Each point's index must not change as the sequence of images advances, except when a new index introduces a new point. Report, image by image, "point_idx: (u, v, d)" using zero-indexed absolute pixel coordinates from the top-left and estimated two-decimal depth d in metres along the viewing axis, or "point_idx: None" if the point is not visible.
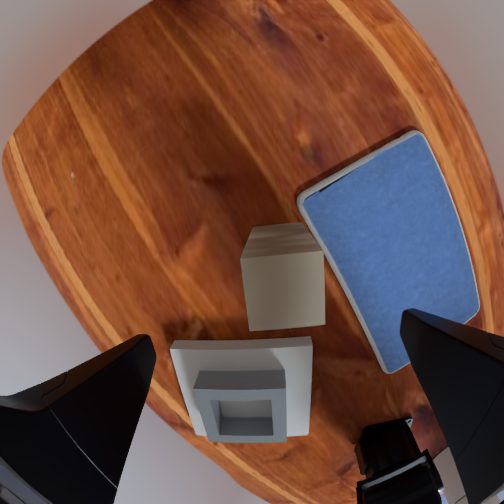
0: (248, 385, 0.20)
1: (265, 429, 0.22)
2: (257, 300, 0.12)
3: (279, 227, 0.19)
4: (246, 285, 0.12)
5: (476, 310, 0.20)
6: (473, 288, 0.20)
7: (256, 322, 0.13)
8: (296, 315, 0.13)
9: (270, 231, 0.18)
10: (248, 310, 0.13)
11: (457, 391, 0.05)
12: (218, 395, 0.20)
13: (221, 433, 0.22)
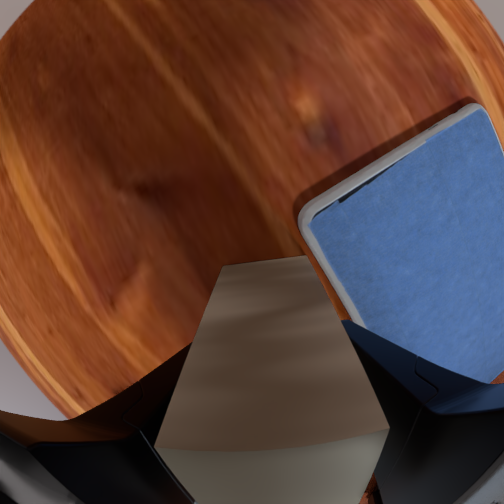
0: None
1: None
2: (216, 497, 0.04)
3: (268, 273, 0.10)
4: (185, 481, 0.04)
5: None
6: None
7: None
8: None
9: (250, 289, 0.09)
10: (200, 503, 0.04)
11: None
12: None
13: None
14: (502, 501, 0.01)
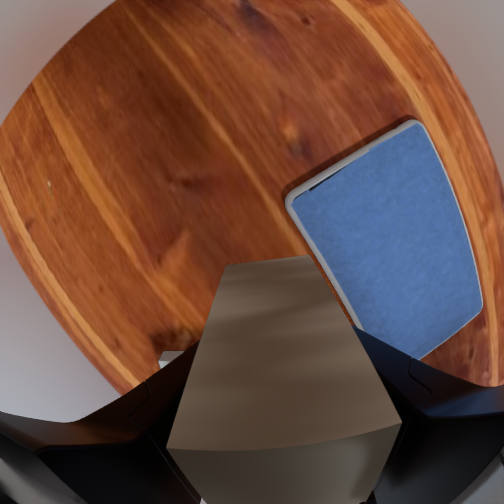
0: None
1: None
2: (226, 496, 0.04)
3: (272, 272, 0.10)
4: (196, 482, 0.04)
5: (479, 309, 0.19)
6: (477, 287, 0.19)
7: None
8: None
9: (255, 288, 0.09)
10: (209, 503, 0.04)
11: None
12: None
13: None
14: None
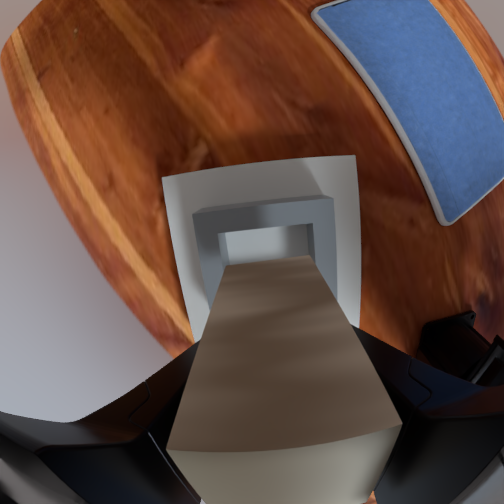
0: (276, 202, 0.14)
1: None
2: (226, 498, 0.04)
3: (272, 273, 0.10)
4: (196, 483, 0.04)
5: None
6: None
7: None
8: None
9: (255, 288, 0.09)
10: None
11: None
12: (231, 221, 0.14)
13: None
14: None
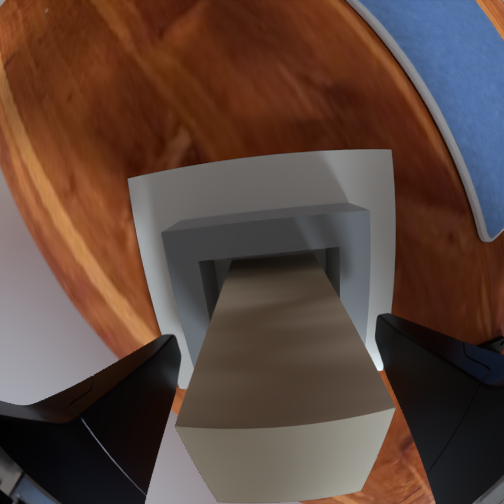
0: (285, 215, 0.10)
1: None
2: (227, 479, 0.04)
3: (277, 268, 0.11)
4: (200, 463, 0.04)
5: None
6: None
7: (229, 497, 0.05)
8: (308, 491, 0.04)
9: (260, 282, 0.10)
10: (210, 487, 0.04)
11: (427, 402, 0.05)
12: (218, 244, 0.10)
13: None
14: None
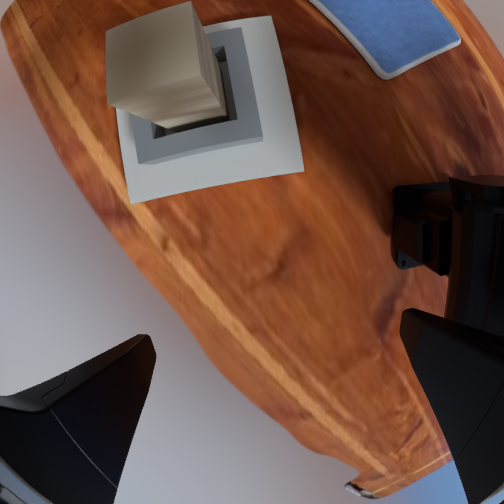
0: None
1: None
2: (117, 63, 0.08)
3: None
4: (108, 52, 0.07)
5: (457, 37, 0.13)
6: (440, 13, 0.13)
7: (115, 90, 0.08)
8: (161, 69, 0.08)
9: None
10: (107, 78, 0.08)
11: (457, 391, 0.05)
12: None
13: (157, 139, 0.15)
14: None
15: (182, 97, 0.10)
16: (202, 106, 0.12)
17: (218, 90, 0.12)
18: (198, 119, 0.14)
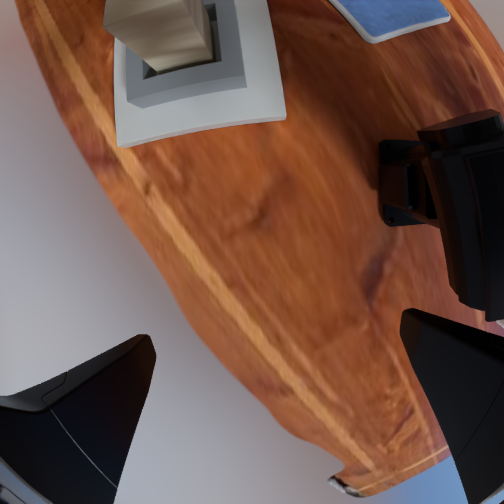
0: None
1: None
2: None
3: None
4: None
5: (447, 13, 0.13)
6: None
7: (110, 16, 0.07)
8: None
9: None
10: (105, 9, 0.07)
11: (457, 391, 0.05)
12: None
13: None
14: None
15: (168, 28, 0.09)
16: (187, 43, 0.11)
17: (204, 32, 0.11)
18: (185, 62, 0.13)
